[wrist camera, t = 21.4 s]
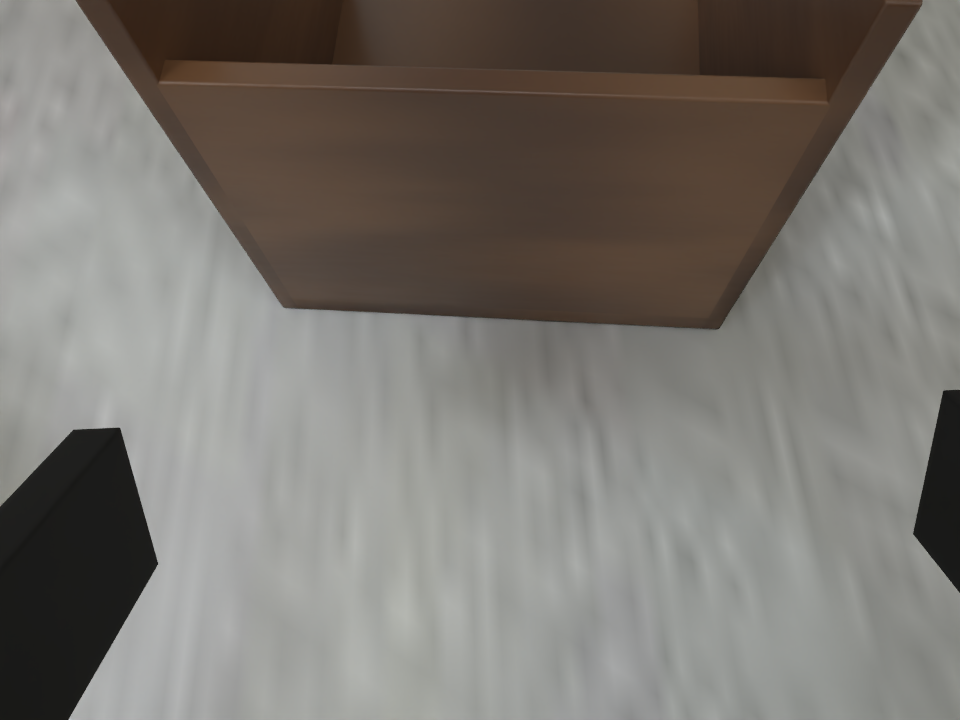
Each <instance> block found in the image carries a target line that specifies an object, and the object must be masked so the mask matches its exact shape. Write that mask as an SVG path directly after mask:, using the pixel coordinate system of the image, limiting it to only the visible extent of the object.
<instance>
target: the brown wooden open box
mask: <svg viewBox="0 0 960 720" xmlns="http://www.w3.org/2000/svg"><path fill="white" fill-rule="evenodd" d="M76 2H77V3H78V5H79V6H80V8H81V9H82V11H83V12H84V14H85V15H86V17H87V18H88V20H89V21H90V23H91V24H92V26H93V27H94V28H95V30H96V31H97V33H98V34H99V36H100V37H101V39H102V40H103V42H104V43H105V45H106V46H107V48H108V49H109V51H110V52H111V54H112V55H113V57H114V58H115V59H116V61H117V62H118V64H119V65H120V67H121V68H122V70H123V71H124V73H125V74H126V76H127V77H128V79H129V80H130V82H131V83H132V85H133V86H134V88H135V89H136V91H137V92H138V93H139V95H140V96H141V98H142V99H143V101H144V102H145V104H146V105H147V107H148V108H149V110H150V111H151V113H152V114H153V116H154V117H155V119H156V120H157V122H158V123H159V124H160V126H161V127H162V129H163V130H164V132H165V133H166V135H167V136H168V138H169V139H170V141H171V142H172V144H173V145H174V147H175V148H176V150H177V151H178V153H179V154H180V155H181V157H182V158H183V160H184V161H185V163H186V164H187V166H188V167H189V169H190V170H191V172H192V173H193V175H194V176H195V178H196V179H197V181H198V182H199V184H200V185H201V186H202V188H203V189H204V191H205V192H206V194H207V195H208V197H209V198H210V200H211V201H212V203H213V204H214V206H215V207H216V209H217V210H218V212H219V213H220V215H221V216H222V218H223V219H224V220H225V222H226V223H227V225H228V226H229V228H230V229H231V231H232V232H233V234H234V235H235V237H236V238H237V240H238V241H239V243H240V244H241V246H242V247H243V249H244V250H245V251H246V253H247V254H248V256H249V257H250V259H251V260H252V262H253V263H254V265H255V266H256V268H257V269H258V271H259V272H260V274H261V275H262V277H263V278H264V280H265V281H266V282H267V284H268V285H269V287H270V288H271V290H272V291H273V293H274V294H275V296H276V297H277V299H278V300H279V302H280V303H281V305H282V306H283V307H284V308H304V309H324V310H345V311H365V312H385V313H405V314H425V315H446V316H466V317H486V318H506V319H527V320H547V321H567V322H587V323H607V324H628V325H648V326H668V327H688V328H708V329H719V328H720V326H721V325H722V323H723V321H724V320H725V318H726V317H727V315H728V313H729V312H730V310H731V309H732V307H733V305H734V304H735V302H736V301H737V299H738V298H739V296H740V294H741V293H742V291H743V290H744V288H745V286H746V285H747V283H748V282H749V280H750V278H751V277H752V275H753V274H754V272H755V270H756V269H757V267H758V266H759V264H760V262H761V261H762V259H763V258H764V256H765V254H766V253H767V251H768V250H769V248H770V247H771V245H772V243H773V242H774V240H775V239H776V237H777V235H778V234H779V232H780V231H781V229H782V227H783V226H784V224H785V223H786V221H787V219H788V218H789V216H790V215H791V213H792V211H793V210H794V208H795V207H796V205H797V204H798V202H799V200H800V199H801V197H802V196H803V194H804V192H805V191H806V189H807V188H808V186H809V184H810V183H811V181H812V180H813V178H814V176H815V175H816V173H817V172H818V170H819V168H820V167H821V165H822V164H823V162H824V160H825V159H826V157H827V156H828V154H829V153H830V151H831V149H832V148H833V146H834V145H835V143H836V141H837V140H838V138H839V137H840V135H841V133H842V132H843V130H844V129H845V127H846V125H847V124H848V122H849V121H850V119H851V117H852V116H853V114H854V113H855V111H856V109H857V108H858V106H859V105H860V103H861V102H862V100H863V98H864V97H865V95H866V94H867V92H868V90H869V89H870V87H871V86H872V84H873V82H874V81H875V79H876V78H877V76H878V74H879V73H880V71H881V70H882V68H883V66H884V65H885V63H886V62H887V60H888V58H889V57H890V55H891V54H892V52H893V51H894V49H895V47H896V46H897V44H898V43H899V41H900V39H901V38H902V36H903V35H904V33H905V31H906V30H907V28H908V27H909V25H910V23H911V22H912V20H913V19H914V17H915V15H916V14H917V12H918V11H919V9H920V7H921V6H922V0H76Z"/></svg>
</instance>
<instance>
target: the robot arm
mask: <svg viewBox="0 0 960 720" xmlns="http://www.w3.org/2000/svg"><path fill="white" fill-rule="evenodd" d="M913 534H914V536H915V537H916V538H917V539H918V541H919V542H920V543H921V544H922V546H923V547H924V548H925V549H926V551H927V552H928V553H929V555H930V556H931V557H932V558H933V560H934V561H935V562H936V563H937V565H938V566H939V567H940V568H941V570H942V571H943V572H944V573H945V575H946V576H947V577H948V579H949V580H950V581H951V582H952V584H953V585H954V586H955V587H956V589H957V590H958V591H959V592H960V390H945V391H943V395H942V400H941V404H940V409H939V414H938V419H937V423H936V428H935V433H934V438H933V442H932V447H931V452H930V457H929V461H928V466H927V471H926V475H925V480H924V485H923V490H922V494H921V499H920V504H919V509H918V513H917V518H916V523H915V528H914V532H913ZM157 565H158V562H157V558H156V555H155V551H154V547H153V544H152V540H151V537H150V533H149V530H148V526H147V522H146V519H145V515H144V512H143V508H142V505H141V501H140V497H139V494H138V490H137V487H136V483H135V480H134V476H133V473H132V469H131V465H130V462H129V458H128V455H127V451H126V448H125V444H124V440H123V437H122V433H121V430H120V428H103V429H81V430H73V431H72V432H71V433H70V434H69V435H68V436H67V437H66V438H65V439H64V440H63V441H62V442H61V443H60V445H59V446H58V447H57V448H56V449H55V450H54V451H53V452H52V453H51V454H50V455H49V456H48V457H47V458H46V459H45V460H44V461H43V462H42V463H41V464H40V466H39V467H38V468H37V469H36V470H35V471H34V472H33V473H32V474H31V475H30V476H29V477H28V478H27V479H26V480H25V481H24V482H23V483H22V484H21V486H20V487H19V488H18V489H17V490H16V491H15V492H14V493H13V494H12V495H11V496H10V497H9V498H8V499H7V500H6V501H5V502H4V503H3V504H2V505H1V507H0V720H68V719H69V717H70V716H71V714H72V712H73V711H74V709H75V707H76V705H77V704H78V702H79V700H80V698H81V697H82V695H83V693H84V691H85V690H86V688H87V686H88V685H89V683H90V681H91V679H92V678H93V676H94V674H95V672H96V671H97V669H98V667H99V666H100V664H101V662H102V660H103V659H104V657H105V655H106V653H107V652H108V650H109V648H110V646H111V645H112V643H113V641H114V640H115V638H116V636H117V634H118V633H119V631H120V629H121V627H122V626H123V624H124V622H125V620H126V619H127V617H128V615H129V614H130V612H131V610H132V608H133V607H134V605H135V603H136V601H137V600H138V598H139V596H140V595H141V593H142V591H143V589H144V588H145V586H146V584H147V582H148V581H149V579H150V577H151V575H152V574H153V572H154V570H155V569H156V567H157Z"/></svg>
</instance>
